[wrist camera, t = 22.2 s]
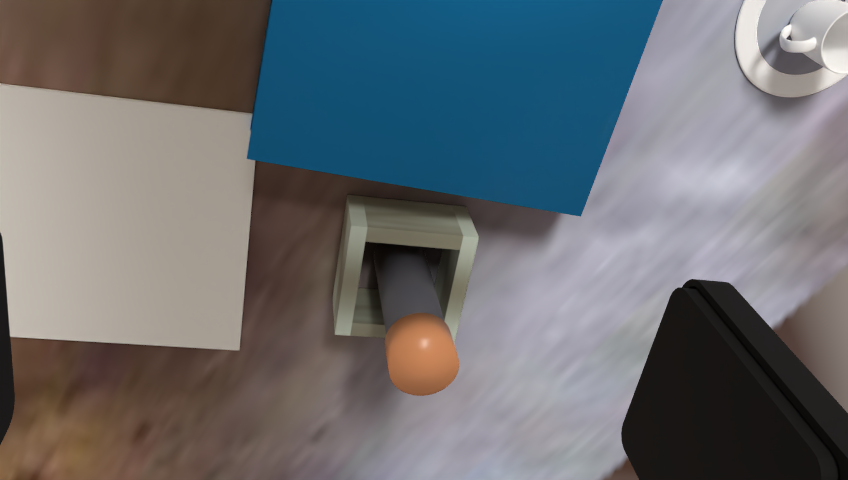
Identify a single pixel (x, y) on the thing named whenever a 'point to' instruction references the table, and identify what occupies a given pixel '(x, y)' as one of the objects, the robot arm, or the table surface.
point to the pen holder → (401, 226)
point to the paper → (123, 218)
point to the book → (450, 92)
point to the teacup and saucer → (797, 47)
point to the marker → (413, 322)
